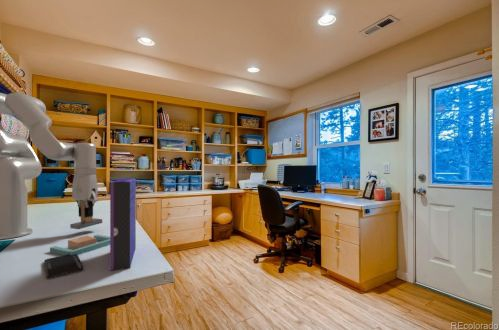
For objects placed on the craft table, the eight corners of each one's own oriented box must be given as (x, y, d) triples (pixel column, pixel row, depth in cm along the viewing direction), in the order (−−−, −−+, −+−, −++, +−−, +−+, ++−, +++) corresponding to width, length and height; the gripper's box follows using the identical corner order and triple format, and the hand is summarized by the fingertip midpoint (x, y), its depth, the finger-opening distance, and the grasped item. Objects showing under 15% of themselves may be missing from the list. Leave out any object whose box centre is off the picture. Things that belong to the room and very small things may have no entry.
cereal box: (120, 249, 81) (120, 178, 81) (135, 247, 83) (135, 178, 83) (110, 270, 65) (110, 181, 65) (129, 268, 67) (130, 181, 67)
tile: (68, 248, 83) (68, 240, 83) (86, 243, 88) (86, 235, 88) (77, 251, 80) (77, 242, 80) (96, 246, 85) (96, 237, 85)
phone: (76, 253, 76) (84, 267, 65) (76, 256, 76) (84, 272, 65) (43, 259, 71) (45, 276, 60) (43, 263, 71) (45, 281, 60)
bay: (49, 252, 79) (49, 247, 79) (97, 238, 93) (97, 234, 93) (71, 257, 74) (71, 252, 74) (117, 241, 89) (117, 237, 89)
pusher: (78, 229, 96) (77, 202, 95) (70, 228, 98) (69, 202, 97) (102, 222, 105) (101, 198, 105) (94, 221, 107) (93, 198, 107)
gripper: (63, 172, 101) (64, 216, 101) (89, 172, 94) (89, 219, 94) (82, 172, 108) (82, 213, 108) (107, 172, 101) (107, 216, 101)
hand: (85, 215), depth 101 cm, fingers closed on pusher, 3 cm apart
